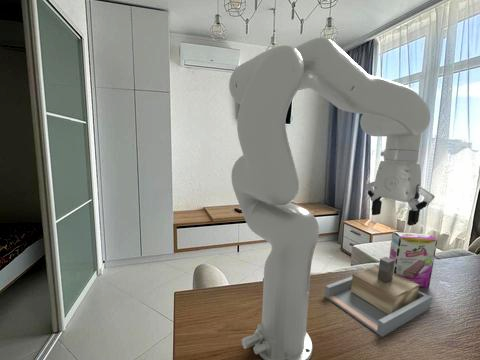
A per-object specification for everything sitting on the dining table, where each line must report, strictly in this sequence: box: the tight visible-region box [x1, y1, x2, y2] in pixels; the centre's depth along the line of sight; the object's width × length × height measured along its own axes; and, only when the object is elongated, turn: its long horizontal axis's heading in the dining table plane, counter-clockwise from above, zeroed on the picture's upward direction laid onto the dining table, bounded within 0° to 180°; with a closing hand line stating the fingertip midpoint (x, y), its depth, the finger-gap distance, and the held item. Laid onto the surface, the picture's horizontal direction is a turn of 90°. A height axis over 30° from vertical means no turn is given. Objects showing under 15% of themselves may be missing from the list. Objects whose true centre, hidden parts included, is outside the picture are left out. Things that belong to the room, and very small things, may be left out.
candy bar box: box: [388, 231, 439, 289], centre depth 80 cm, size 11×5×16 cm, turn 84°
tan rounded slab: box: [351, 256, 420, 315], centre depth 71 cm, size 12×12×12 cm
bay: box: [324, 275, 433, 338], centre depth 71 cm, size 22×17×4 cm
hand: (392, 219), depth 69 cm, fingers open, 9 cm apart
